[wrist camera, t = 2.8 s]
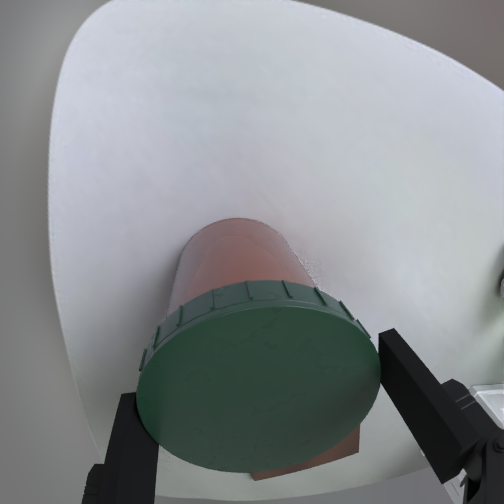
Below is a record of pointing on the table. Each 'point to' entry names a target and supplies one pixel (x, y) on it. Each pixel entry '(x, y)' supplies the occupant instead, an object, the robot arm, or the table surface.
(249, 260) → the jar
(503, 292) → the rainbow fan wheeled toy
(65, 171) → the table surface
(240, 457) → the lid
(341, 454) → the coaster
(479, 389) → the castle model
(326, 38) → the table surface
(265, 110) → the table surface
